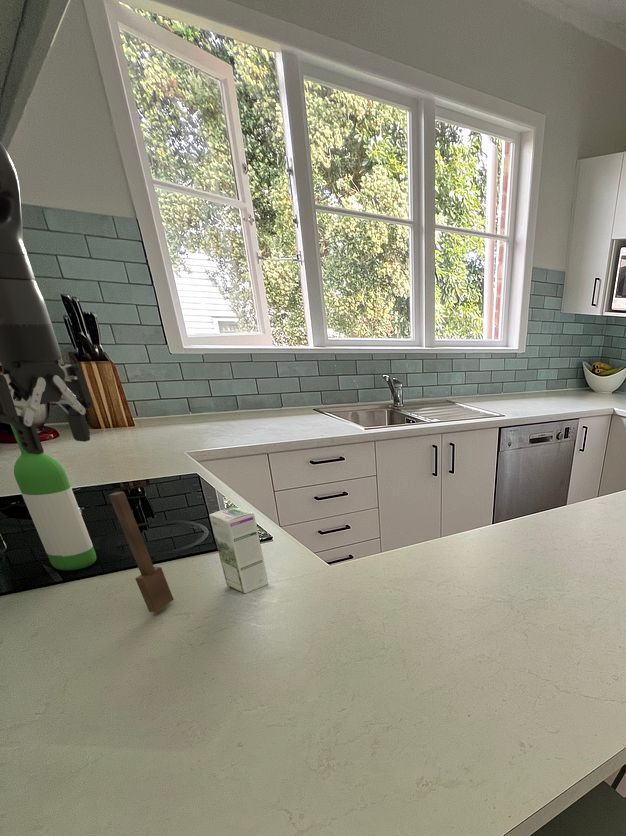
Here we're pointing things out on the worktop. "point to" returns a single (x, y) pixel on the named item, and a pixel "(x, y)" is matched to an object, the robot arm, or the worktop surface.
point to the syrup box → (239, 549)
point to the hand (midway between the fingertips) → (60, 446)
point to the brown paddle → (142, 557)
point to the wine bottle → (53, 510)
